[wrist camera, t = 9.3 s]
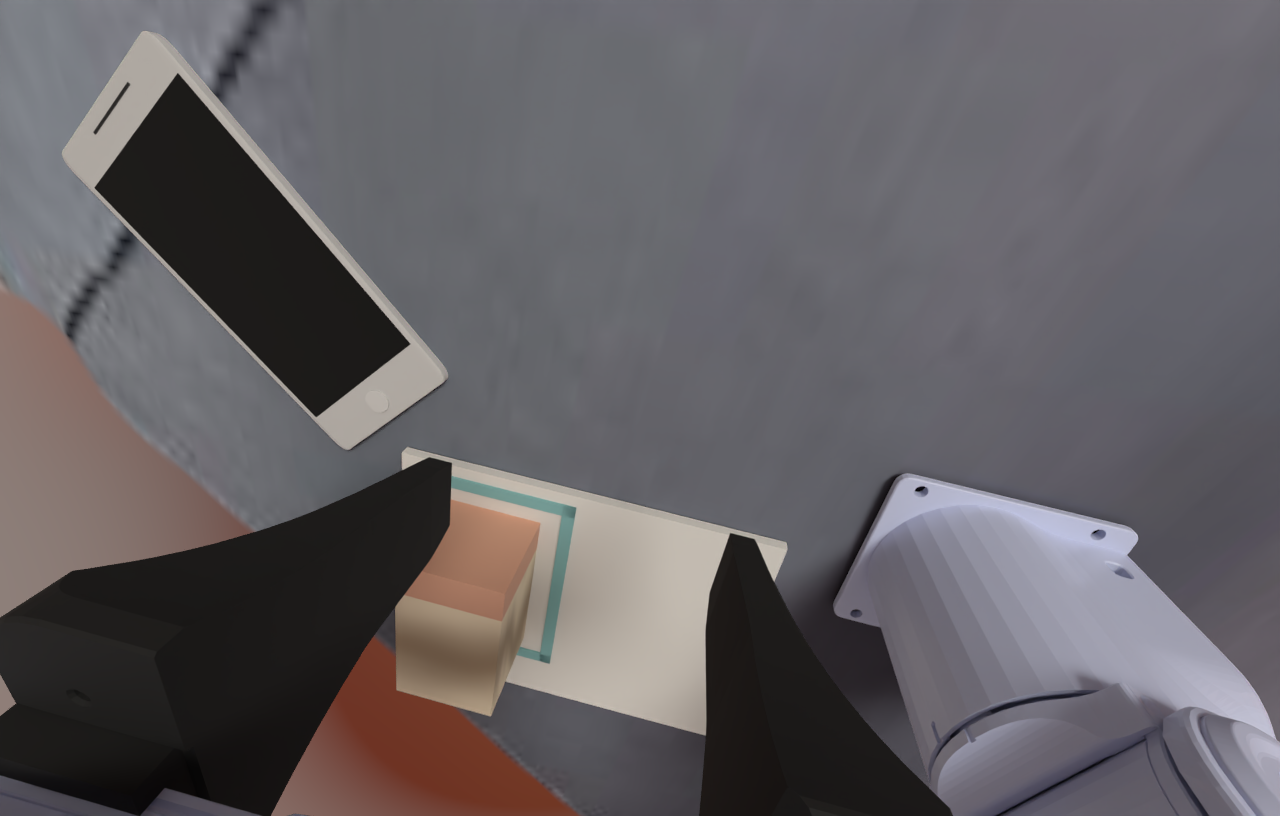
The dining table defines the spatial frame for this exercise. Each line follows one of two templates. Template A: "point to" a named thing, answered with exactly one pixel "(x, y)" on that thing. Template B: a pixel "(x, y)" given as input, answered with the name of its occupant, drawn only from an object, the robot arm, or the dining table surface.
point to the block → (467, 610)
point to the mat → (610, 594)
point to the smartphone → (247, 244)
